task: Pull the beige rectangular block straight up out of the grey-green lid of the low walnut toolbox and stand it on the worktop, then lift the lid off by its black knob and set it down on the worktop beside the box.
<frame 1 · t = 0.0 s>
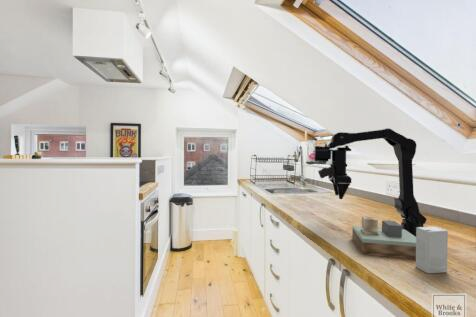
hand: (338, 197, 100), 15 cm above the worktop, tool pointing down, fingers open, 9 cm apart
toolbox base: (384, 248, 81), on the worktop
skincare box: (430, 270, 66), on the worktop
beige rectangular block: (369, 240, 82), point 2 cm above the worktop, touching toolbox base
toolbox lid: (385, 237, 81), point 4 cm above the worktop, touching toolbox base
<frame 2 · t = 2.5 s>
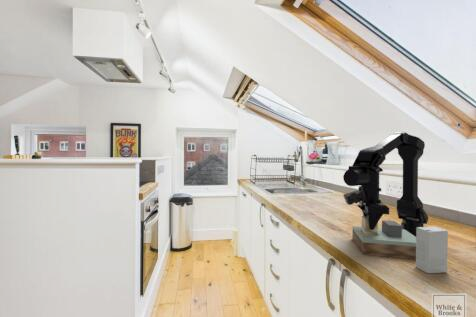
hand: (369, 227, 82), 7 cm above the worktop, tool pointing down, fingers closed on beige rectangular block, 4 cm apart
beige rectangular block: (369, 240, 82), point 3 cm above the worktop, touching gripper, toolbox base
everything else where it was.
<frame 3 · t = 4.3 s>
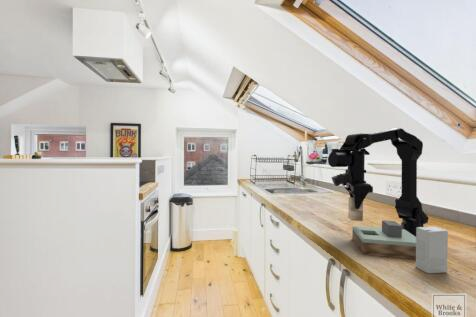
hand: (355, 207, 87), 13 cm above the worktop, tool pointing down, fingers closed on beige rectangular block, 4 cm apart
beige rectangular block: (355, 219, 88), point 9 cm above the worktop, touching gripper
everything else where it was.
when the fingers open (6 cm above the worktop, at t = 6.6 s): beige rectangular block drops 2 cm, on the worktop.
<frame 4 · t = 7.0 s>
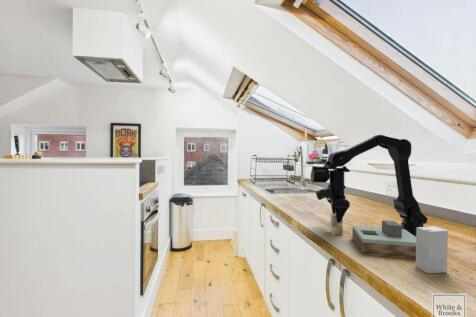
hand: (336, 219, 96), 6 cm above the worktop, tool pointing down, fingers open, 8 cm apart
beige rectangular block: (336, 233, 96), on the worktop
everything else where it was.
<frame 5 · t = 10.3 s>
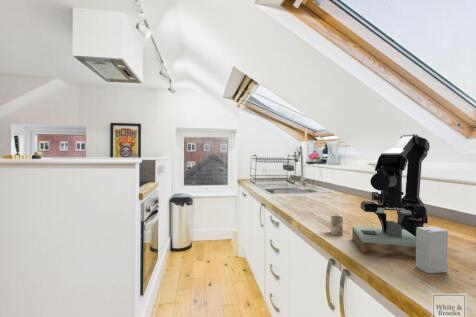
hand: (391, 231, 81), 6 cm above the worktop, tool pointing down, fingers closed on toolbox lid, 4 cm apart
toolbox lid: (385, 237, 81), point 4 cm above the worktop, touching gripper, toolbox base
everything else where it was.
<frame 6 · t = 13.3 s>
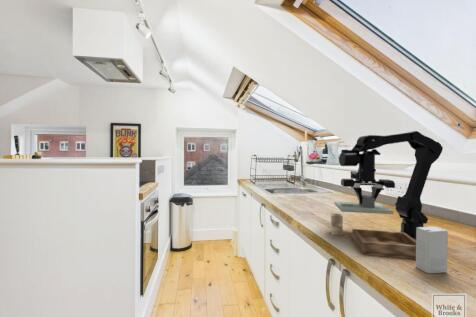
hand: (366, 204, 94), 13 cm above the worktop, tool pointing down, fingers closed on toolbox lid, 4 cm apart
toolbox lid: (361, 208, 94), point 11 cm above the worktop, touching gripper
everything else where it was.
when the fingers open (3 cm above the worktop, at t = 16.5 s): toolbox lid drops 1 cm, on the worktop.
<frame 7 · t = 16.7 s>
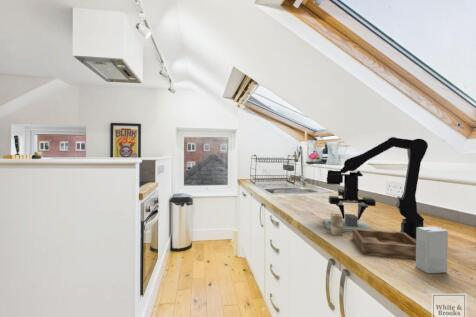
hand: (350, 219, 105), 3 cm above the worktop, tool pointing down, fingers open, 6 cm apart
toolbox lid: (346, 226, 105), on the worktop
everything else where it was.
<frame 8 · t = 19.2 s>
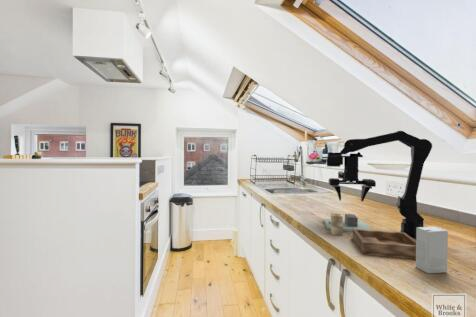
hand: (350, 201, 105), 12 cm above the worktop, tool pointing down, fingers open, 9 cm apart
nothing on the worktop moved.
at the end: beige rectangular block inside the target area (0.1 cm from its centre), on the worktop; toolbox lid inside the target area (0.1 cm from its centre), on the worktop; toolbox lid touching worktop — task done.
